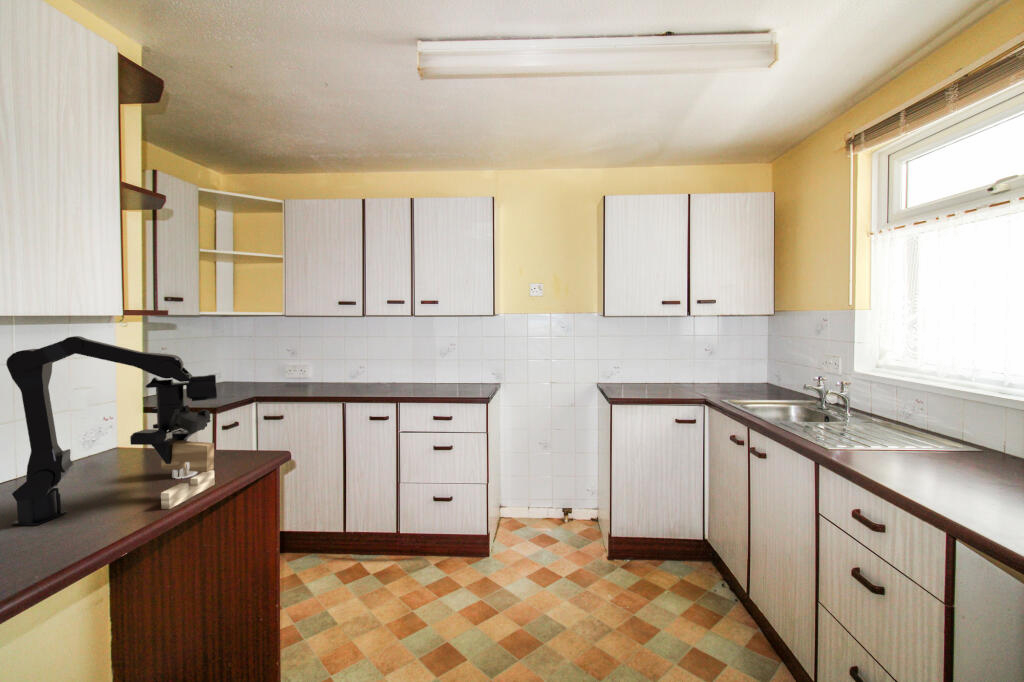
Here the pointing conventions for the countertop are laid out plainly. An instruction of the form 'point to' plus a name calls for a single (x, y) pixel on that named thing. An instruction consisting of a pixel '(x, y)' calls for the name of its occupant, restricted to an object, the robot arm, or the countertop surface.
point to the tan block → (191, 456)
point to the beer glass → (185, 471)
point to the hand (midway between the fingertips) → (172, 462)
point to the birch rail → (187, 490)
